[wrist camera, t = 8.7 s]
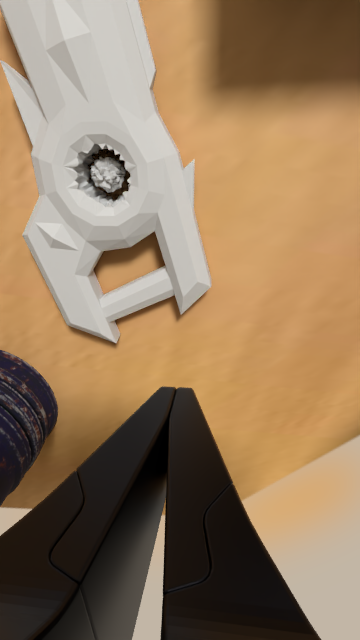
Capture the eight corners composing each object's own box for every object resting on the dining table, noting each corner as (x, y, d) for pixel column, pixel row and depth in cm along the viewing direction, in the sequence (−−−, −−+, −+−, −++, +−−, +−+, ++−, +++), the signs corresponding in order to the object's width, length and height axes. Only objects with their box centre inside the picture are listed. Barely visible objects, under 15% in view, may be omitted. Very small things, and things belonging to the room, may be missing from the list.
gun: (-125, -21, 13) (117, -149, 11) (-61, 8, 16) (138, -87, 14) (73, 361, 21) (232, 331, 19) (91, 332, 24) (229, 303, 22)
